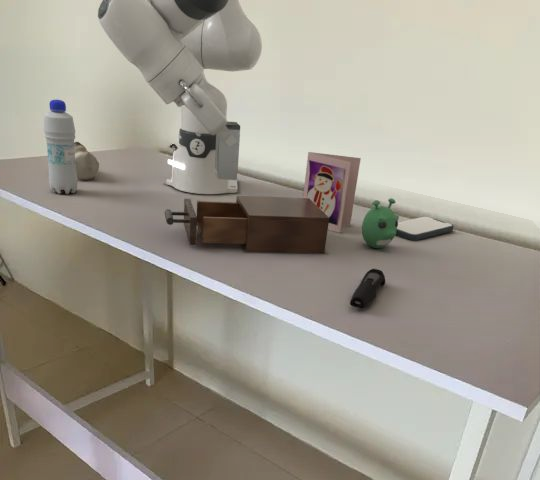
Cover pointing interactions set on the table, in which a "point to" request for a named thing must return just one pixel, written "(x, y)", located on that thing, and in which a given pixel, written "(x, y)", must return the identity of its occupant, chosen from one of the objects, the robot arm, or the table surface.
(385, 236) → the alien toy
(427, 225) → the phone case
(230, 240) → the drawer
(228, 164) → the grey block
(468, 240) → the table surface
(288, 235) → the cabinet
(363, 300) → the electric trimmer
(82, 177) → the ceramic sculpture
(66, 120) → the bottle
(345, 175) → the greeting card
